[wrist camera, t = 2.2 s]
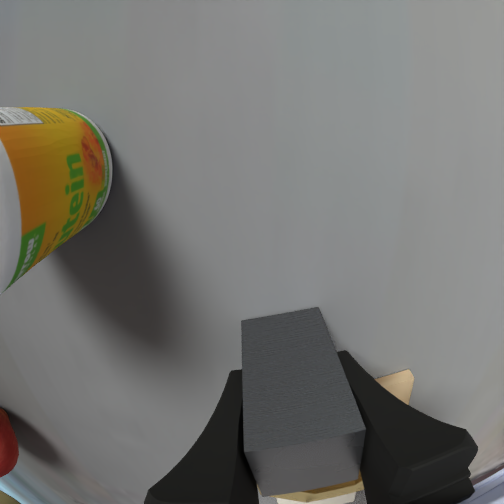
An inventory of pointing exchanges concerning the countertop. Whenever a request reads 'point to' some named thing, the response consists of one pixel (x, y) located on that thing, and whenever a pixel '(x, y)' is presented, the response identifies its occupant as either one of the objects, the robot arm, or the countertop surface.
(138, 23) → the countertop surface
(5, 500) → the yellow tapered knobbed piece
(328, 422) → the steel block
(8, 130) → the supplement bottle
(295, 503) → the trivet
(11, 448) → the pomegranate
